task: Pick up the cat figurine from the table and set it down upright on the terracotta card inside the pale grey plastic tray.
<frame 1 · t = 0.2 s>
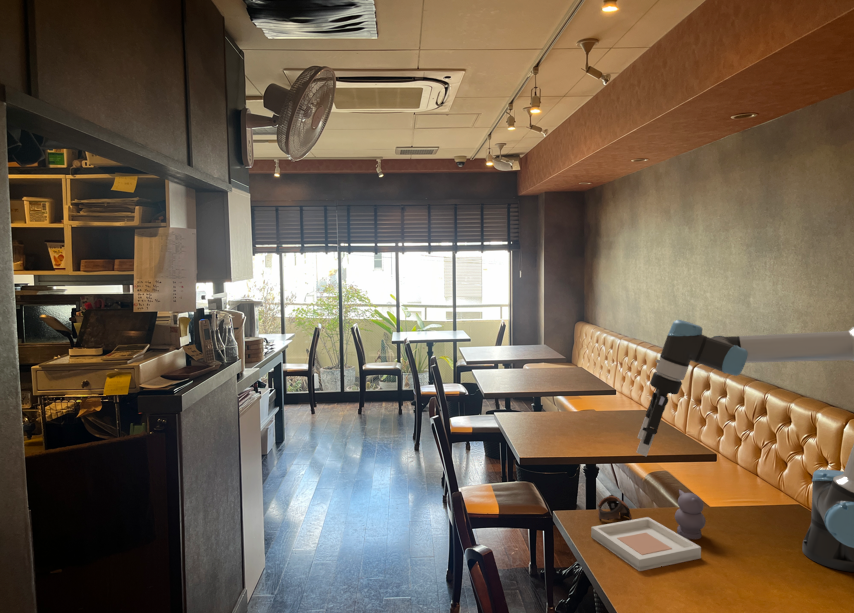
hand: (641, 446, 157), 27 cm above the table, tool tilted 20°, fingers open, 13 cm apart
pottery mug: (614, 520, 174), on the table
tray: (643, 547, 156), on the table
cat figurine: (689, 535, 164), on the table
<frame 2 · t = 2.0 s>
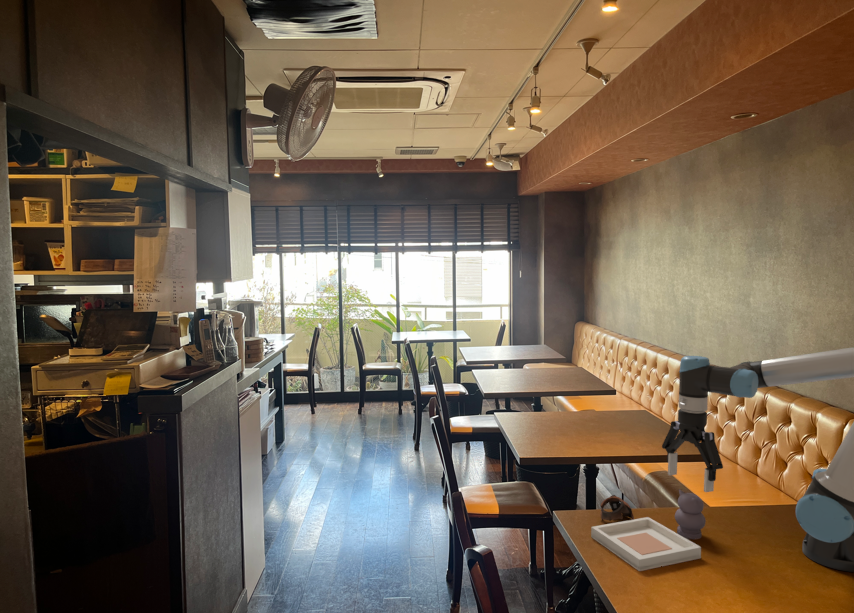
hand: (689, 482, 164), 15 cm above the table, tool pointing down, fingers open, 13 cm apart
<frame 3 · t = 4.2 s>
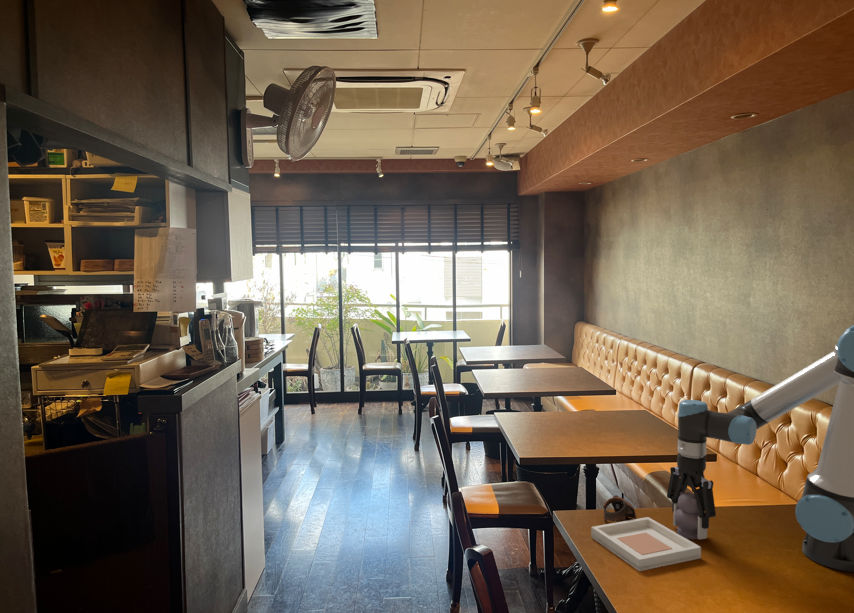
hand: (689, 531, 164), 1 cm above the table, tool pointing down, fingers closed on cat figurine, 8 cm apart
cat figurine: (689, 534, 164), on the table, touching gripper
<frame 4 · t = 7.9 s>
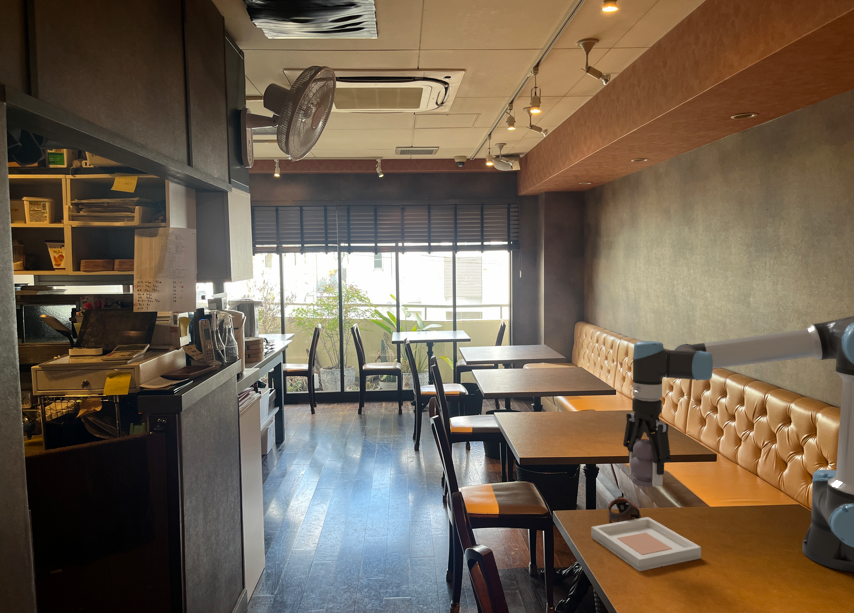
hand: (645, 479, 155), 19 cm above the table, tool pointing down, fingers closed on cat figurine, 8 cm apart
pottery mug: (624, 521, 173), on the table
cat figurine: (645, 483, 155), point 18 cm above the table, touching gripper
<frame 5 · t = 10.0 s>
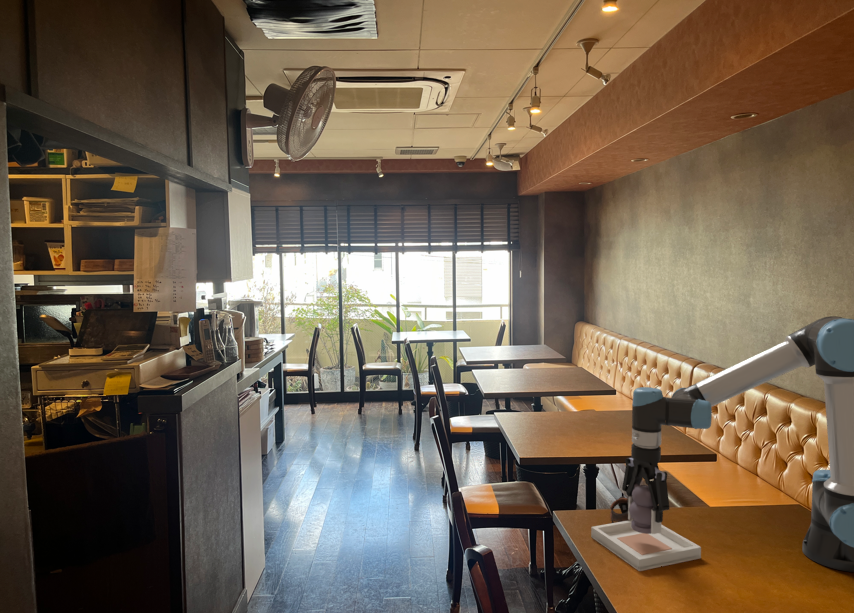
hand: (644, 525, 156), 6 cm above the table, tool pointing down, fingers closed on cat figurine, 8 cm apart
cat figurine: (643, 529, 156), point 5 cm above the table, touching gripper
when the fingers open (4 cm above the table, at t = 11.5 s): cat figurine drops 2 cm, resting on tray.
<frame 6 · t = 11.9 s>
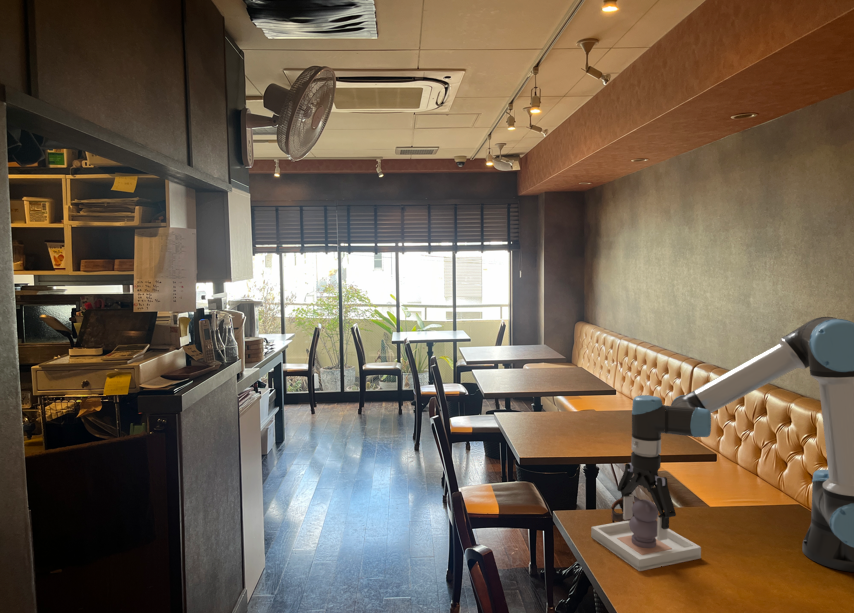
hand: (644, 528, 156), 5 cm above the table, tool pointing down, fingers open, 13 cm apart
pottery mug: (627, 522, 173), on the table, touching tray
cat figurine: (644, 543, 156), point 1 cm above the table, touching tray
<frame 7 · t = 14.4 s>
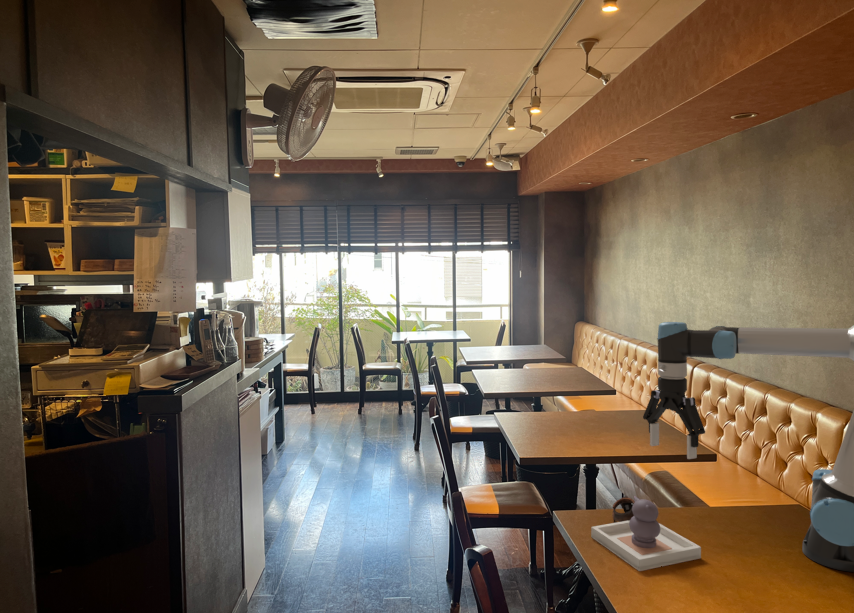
hand: (672, 451, 160), 25 cm above the table, tool pointing down, fingers open, 13 cm apart
pottery mug: (628, 521, 173), on the table
everything else where it was.
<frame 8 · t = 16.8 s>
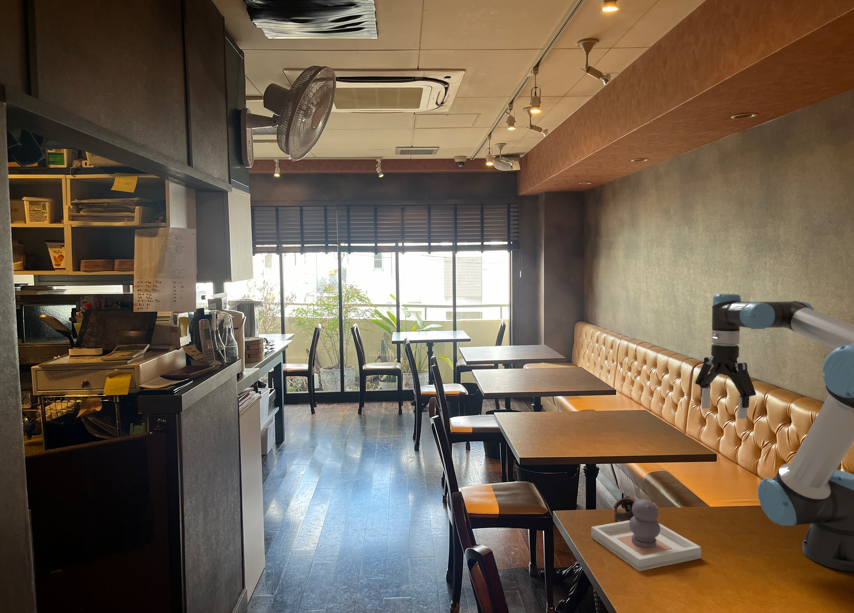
hand: (723, 413, 174), 33 cm above the table, tool pointing down, fingers open, 13 cm apart
at the end: cat figurine inside the target area on the tray (0.1 cm from its centre), point 1.0 cm above the tray's base; cat figurine tilted 0°; the gripper is holding nothing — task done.
